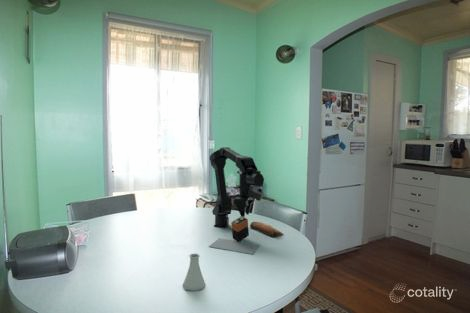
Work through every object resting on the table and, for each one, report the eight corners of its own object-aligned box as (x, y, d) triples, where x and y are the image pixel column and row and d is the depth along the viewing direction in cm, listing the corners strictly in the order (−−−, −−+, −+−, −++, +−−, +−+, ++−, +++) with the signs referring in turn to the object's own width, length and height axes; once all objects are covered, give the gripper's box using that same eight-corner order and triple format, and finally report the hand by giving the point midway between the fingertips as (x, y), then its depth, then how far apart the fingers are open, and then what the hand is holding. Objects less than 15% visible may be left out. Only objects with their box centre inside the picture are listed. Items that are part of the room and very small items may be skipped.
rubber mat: (208, 247, 125) (208, 246, 125) (219, 238, 135) (219, 238, 135) (252, 254, 118) (252, 253, 118) (260, 245, 128) (260, 244, 128)
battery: (249, 235, 134) (248, 217, 131) (238, 242, 130) (237, 223, 127) (242, 232, 137) (241, 213, 134) (232, 238, 133) (230, 220, 130)
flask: (183, 280, 96) (184, 250, 95) (205, 280, 96) (206, 250, 96) (181, 292, 89) (181, 260, 88) (205, 291, 89) (205, 259, 89)
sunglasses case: (285, 234, 143) (281, 224, 141) (276, 244, 140) (271, 233, 137) (261, 225, 157) (257, 215, 155) (252, 233, 154) (248, 224, 152)
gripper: (256, 187, 125) (256, 223, 126) (266, 181, 143) (266, 213, 144) (232, 186, 129) (232, 220, 130) (245, 180, 147) (245, 211, 147)
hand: (245, 216), depth 138 cm, fingers open, 7 cm apart
